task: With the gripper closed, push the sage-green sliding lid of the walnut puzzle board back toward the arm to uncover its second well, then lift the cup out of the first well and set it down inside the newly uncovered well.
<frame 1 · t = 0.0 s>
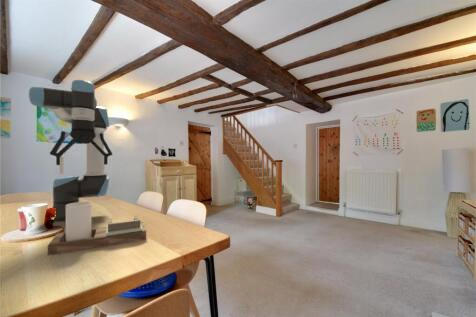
hand: (83, 173, 88), 28 cm above the table, fingers open, 13 cm apart
lid: (124, 224, 94), point 6 cm above the table, slide at 0.0 cm
board: (102, 240, 90), on the table
cup: (78, 244, 86), resting in board
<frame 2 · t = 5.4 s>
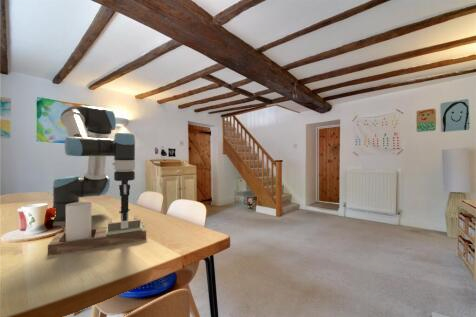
hand: (124, 227, 90), 5 cm above the table, fingers closed
lid: (124, 223, 95), point 6 cm above the table, slide at 0.5 cm, touching gripper
everything else where it was.
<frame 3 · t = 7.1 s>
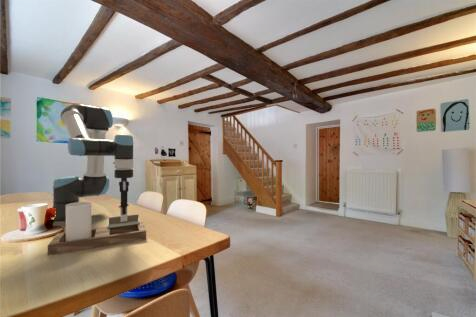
hand: (123, 220, 99), 6 cm above the table, fingers closed
lid: (123, 217, 103), point 6 cm above the table, slide at 10.6 cm
everything else where it was.
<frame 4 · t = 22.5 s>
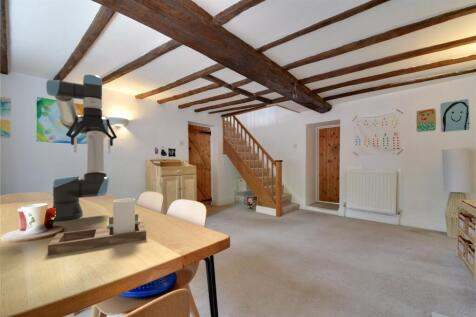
hand: (92, 152, 105), 37 cm above the table, fingers open, 13 cm apart
lid: (123, 217, 104), point 6 cm above the table, slide at 11.3 cm
cup: (124, 237, 94), resting in board
at the end: lid slide at 11.3 cm; cup 0.0 cm from the target spot on the board, point 0.0 cm above the board's base; cup tilted 0° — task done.
